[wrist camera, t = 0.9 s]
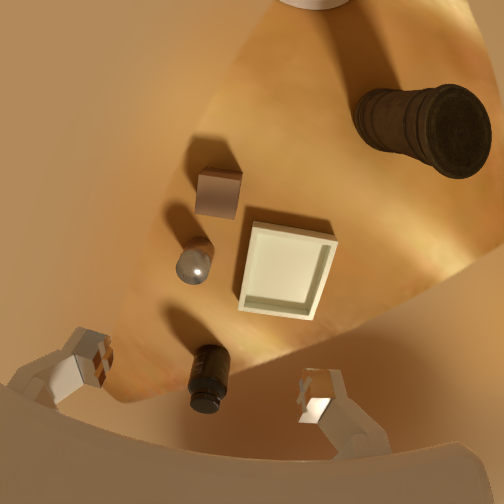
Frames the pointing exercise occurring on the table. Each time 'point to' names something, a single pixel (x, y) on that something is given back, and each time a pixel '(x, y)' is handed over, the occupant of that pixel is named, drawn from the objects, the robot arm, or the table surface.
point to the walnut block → (218, 193)
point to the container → (428, 127)
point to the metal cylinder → (195, 261)
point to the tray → (285, 270)
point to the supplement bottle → (209, 378)
